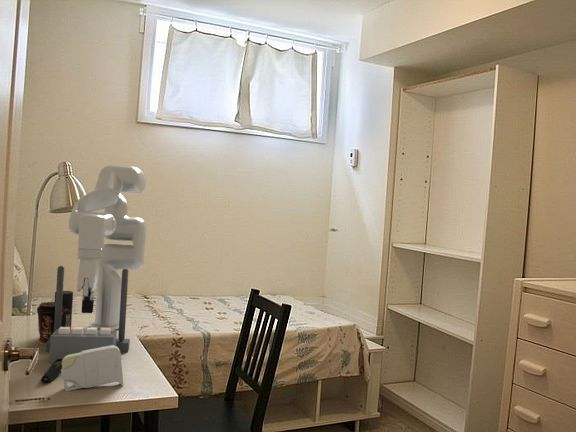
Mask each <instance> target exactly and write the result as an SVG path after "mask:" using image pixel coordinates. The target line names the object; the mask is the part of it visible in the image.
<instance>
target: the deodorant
mask: <svg viewBox="0 0 576 432" xmlns="http://www.w3.org/2000/svg"><path fill="white" fill-rule="evenodd" d="M73 297H74V292H73V291H71V290H63V299H62V306H63V307H64V312H63V320H62V326H61V327H70V330H72V319H73V303H74V301H73V300H74V298H73ZM54 302H56V291H55V292H54Z"/></svg>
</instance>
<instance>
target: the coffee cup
mask: <svg viewBox="0 0 576 432" xmlns="http://www.w3.org/2000/svg"><path fill="white" fill-rule="evenodd" d="M55 304H56V302H55V301H48V302H46V301H45V302H41V303H40V304H39V305H38V306H37V308H36V312H37V319H38V322H37V327H38V332H39V334H38V335H39V338H38V339H39V340H38V343H39V344H40V345H47V341H48V340H49V339H50V338H51V335H52V334H53V333H54V322H55ZM63 312H64V307H63V306H62V317H61V326H62V320H63Z"/></svg>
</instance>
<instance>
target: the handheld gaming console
mask: <svg viewBox="0 0 576 432" xmlns="http://www.w3.org/2000/svg"><path fill="white" fill-rule="evenodd" d="M60 372H61V373H60V374H61V379H62V380H63V388H64V391H65V392H69V391H74V390H79V389H83V388H84V389H89V388H93V387H98V386H102V385H103V386H104V385H108V384H111V383H118V384H120V386H121V387H123V386H124V377H123V374H124V373H123V363H122V352H120V350H119V348H118V347H117V346H114V345H110V346H105V347H100V348H95V349H89V350H84V351H82V352H80V353H75V354H70V355H67V356H65V357H64V358H63V360H62V369H61V371H60ZM68 383H71V385H68Z"/></svg>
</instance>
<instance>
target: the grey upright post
mask: <svg viewBox="0 0 576 432" xmlns="http://www.w3.org/2000/svg"><path fill="white" fill-rule="evenodd" d="M56 270H57V271H56V286H55V287H56V289H55V292H56V304H55V322H54V332H55V331H56V330H57V329H59V328H60V327H61V317H62V299H63V291H64V282H65V281H64V277H65V268H64V266H63V265H59V266H58V267H57V269H56ZM50 340H51V338H50V339H49V340H48V341H47V345H46V349H45V351H46V352H50Z"/></svg>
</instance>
